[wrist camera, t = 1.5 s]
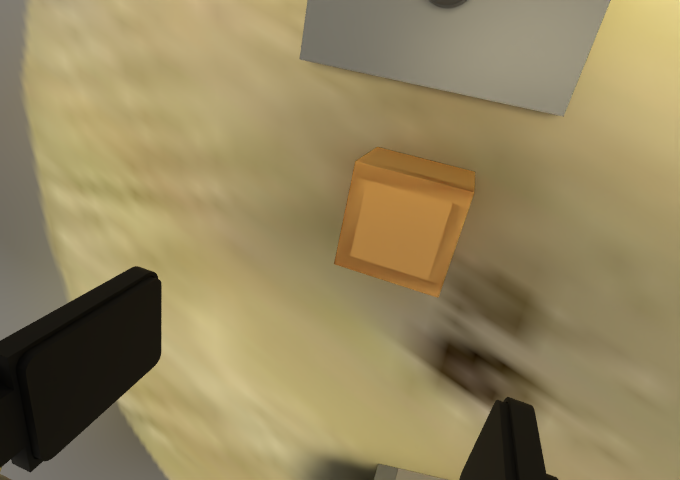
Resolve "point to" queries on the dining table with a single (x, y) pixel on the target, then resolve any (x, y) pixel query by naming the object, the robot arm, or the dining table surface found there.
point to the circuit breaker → (400, 474)
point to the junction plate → (461, 45)
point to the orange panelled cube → (404, 219)
